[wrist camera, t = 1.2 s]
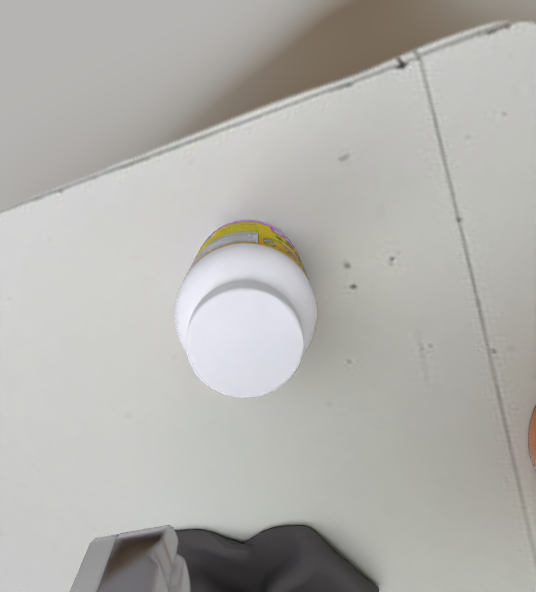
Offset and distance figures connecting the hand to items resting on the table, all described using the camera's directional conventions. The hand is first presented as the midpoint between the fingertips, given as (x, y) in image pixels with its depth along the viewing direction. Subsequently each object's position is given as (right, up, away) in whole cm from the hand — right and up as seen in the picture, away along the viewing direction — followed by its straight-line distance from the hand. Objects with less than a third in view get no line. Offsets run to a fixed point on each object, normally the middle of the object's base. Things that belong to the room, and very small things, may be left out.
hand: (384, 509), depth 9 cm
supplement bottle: (-3, +6, +22) cm, 23 cm away
